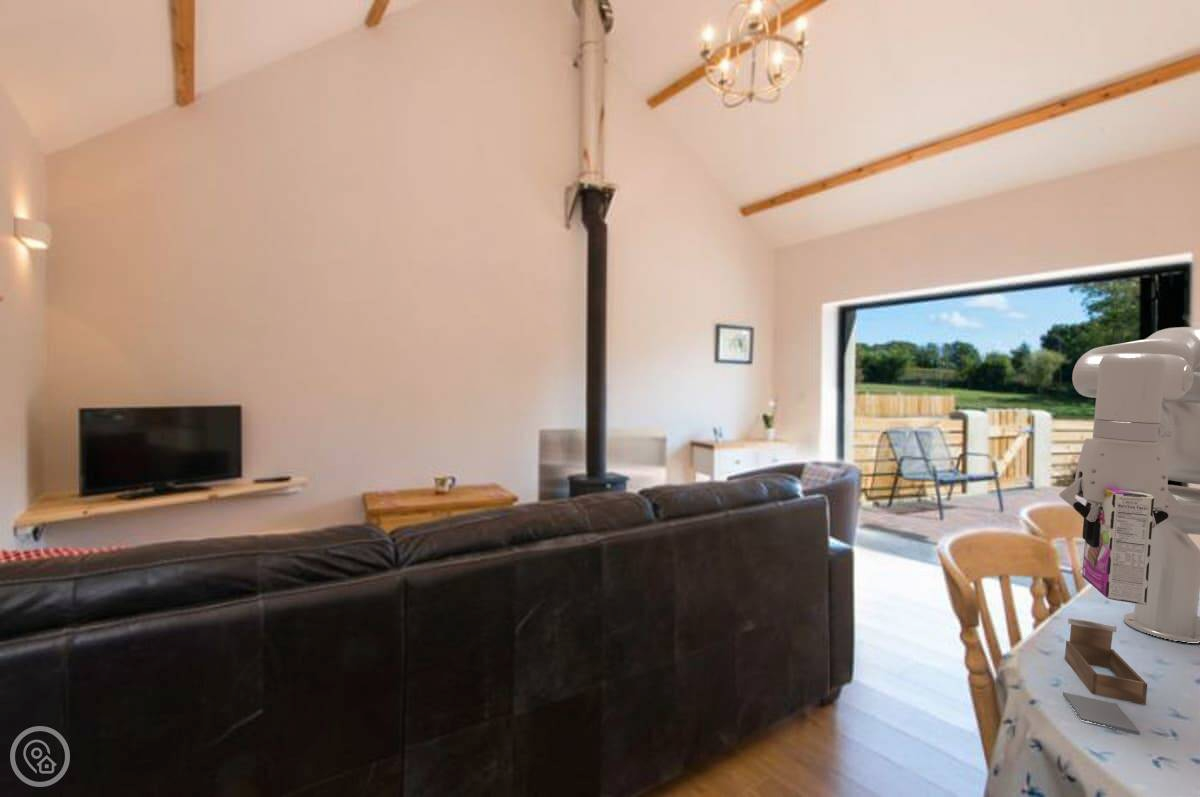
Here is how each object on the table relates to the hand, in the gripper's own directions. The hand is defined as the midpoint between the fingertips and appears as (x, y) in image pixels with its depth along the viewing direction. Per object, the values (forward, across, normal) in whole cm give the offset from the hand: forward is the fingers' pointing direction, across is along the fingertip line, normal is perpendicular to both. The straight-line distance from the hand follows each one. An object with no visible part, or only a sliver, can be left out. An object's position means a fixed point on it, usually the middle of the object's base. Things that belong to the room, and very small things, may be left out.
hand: (1114, 546), depth 88 cm
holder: (+27, -5, -13) cm, 31 cm away
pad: (+27, 0, 0) cm, 27 cm away
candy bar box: (+7, 0, 0) cm, 7 cm away
